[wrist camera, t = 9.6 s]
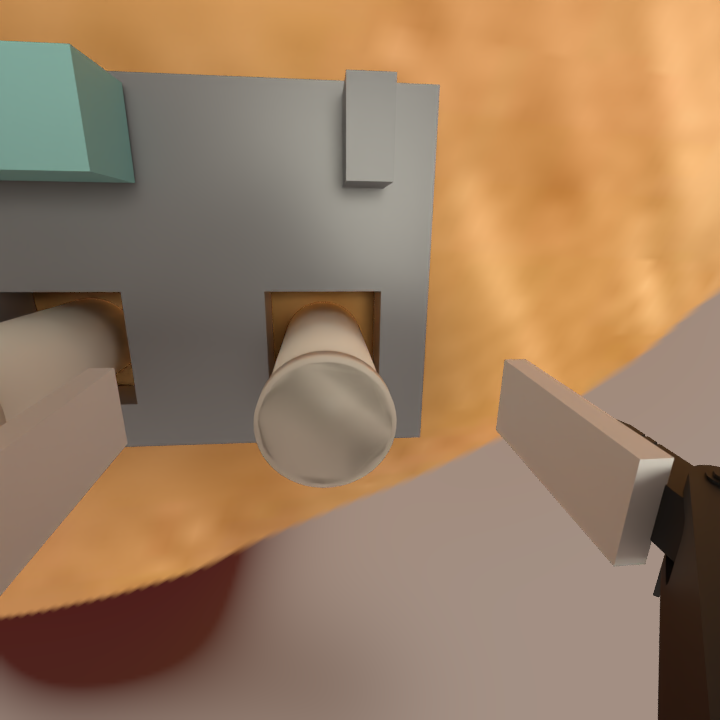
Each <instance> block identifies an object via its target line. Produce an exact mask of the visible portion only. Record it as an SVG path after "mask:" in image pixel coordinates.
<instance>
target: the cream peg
mask: <svg viewBox="0 0 720 720" xmlns="http://www.w3.org/2000/svg"><path fill="white" fill-rule="evenodd" d="M396 422H397V418H396V410H395V406H394V402H393V400H392V397H391V395H390V393H389V390H388V388H387V386H386V384H385V382H384V381H383V379H382V378H381V376H380V375H379V374H378V373H377V371H376V369H375V366H374V364H373V361H372V359H371V356H370V354H369V351H368V349H367V346H366V344H365V341H364V339H363V336H362V334H361V331H360V329H359V326H358V324H357V322H356V320H355V318H354V317H353V316H352V314H351V313H350V312H349V311H348V310H346V309H345V308H343V307H341V306H340V305H337V304H334V303H331V302H316V303H312V304H309V305H307V306H305V307H303V308H302V309H300V310H299V311H298V312H297V313H296V314H295V315H294V316H293V318H292V319H291V321H290V323H289V325H288V328H287V331H286V334H285V337H284V339H283V342H282V345H281V348H280V351H279V354H278V357H277V360H276V363H275V366H274V369H273V372H272V375H271V376H270V378H269V379H268V380H267V382H266V384H265V385H264V387H263V389H262V392H261V394H260V397H259V400H258V402H257V405H256V409H255V413H254V423H253V425H254V434H255V439H256V442H257V445H258V447H259V450H260V451H261V453H262V455H263V457H264V458H265V459H266V461H267V462H268V463H269V464H270V465H271V466H272V467H273V468H274V469H275V470H276V471H277V472H278V473H280V474H281V475H282V476H284V477H286V478H287V479H289V480H292V481H294V482H296V483H299V484H302V485H306V486H311V487H321V488H326V487H336V486H342V485H345V484H349V483H351V482H354V481H356V480H358V479H360V478H362V477H364V476H366V475H367V474H368V473H370V472H371V471H372V470H374V469H375V468H376V467H377V466H378V465H379V464H380V463H381V461H382V460H383V459H384V458H385V456H386V455H387V453H388V452H389V450H390V447H391V445H392V443H393V440H394V437H395V432H396Z"/></svg>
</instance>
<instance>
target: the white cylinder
mask: <svg viewBox="0 0 720 720" xmlns="http://www.w3.org/2000/svg"><path fill="white" fill-rule="evenodd" d="M130 363H131V358H130V351H129V344H128V338H127V331H126V325H125V318H124V312H123V310H122V309H121V308H119V307H118V306H116V305H115V304H113V303H111V302H108V301H106V300H102V299H97V298H85V299H80V300H76V301H73V302H69V303H66V304H62V305H59V306H55V307H52V308H48V309H45V310H41V311H38V312H34V313H31V314H28V315H24V316H21V317H17V318H14V319H10V320H7V321H3V322H0V426H2V425H4V424H5V423H7V422H8V421H10V420H11V419H13V418H14V417H16V416H17V415H19V414H20V413H22V412H23V411H25V410H26V409H28V408H29V407H31V406H32V405H34V404H35V403H37V402H39V401H40V400H42V399H43V398H45V397H46V396H48V395H49V394H51V393H52V392H54V391H55V390H57V389H58V388H60V387H61V386H63V385H64V384H66V383H67V382H69V381H70V380H72V379H74V378H75V377H77V376H78V375H80V374H81V373H83V372H84V371H86V370H87V369H89V368H114V370H115V374H116V373H118V372H119V371H121V370H122V369H123V368H125V367H126V366H127V365H129V364H130Z"/></svg>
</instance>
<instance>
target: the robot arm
mask: <svg viewBox="0 0 720 720" xmlns="http://www.w3.org/2000/svg"><path fill="white" fill-rule="evenodd" d="M496 430H497V432H498V433H499V434H500V435H501V436H502V437H503V439H504V440H505V441H506V442H507V443H508V444H509V446H511V448H512V449H513V450H514V451H515V452H516V454H517V455H518V456H519V457H520V458H521V459H522V460H523V462H524V463H525V464H526V465H527V466H528V468H529V469H530V470H531V471H532V472H533V473H534V474H535V476H536V477H537V478H538V479H539V480H540V481H541V483H542V484H543V485H544V486H545V487H546V488H547V490H548V491H549V492H550V493H551V494H552V495H553V496H554V498H555V499H556V500H557V501H558V502H559V503H560V505H561V506H562V507H563V508H564V509H565V510H566V511H567V513H568V514H569V515H570V516H571V517H572V518H573V520H574V521H575V522H576V523H577V524H578V525H579V526H580V528H581V529H582V530H583V531H584V532H585V534H586V535H587V536H588V537H589V538H590V539H591V540H592V542H593V543H594V544H595V545H596V546H597V547H598V549H599V550H600V551H601V552H602V553H603V554H604V556H605V557H606V558H607V559H608V560H609V561H610V562H611V563H612V565H613V566H626V565H639V564H645V563H646V559H647V556H648V552H649V549H650V545H651V541H652V542H653V543H654V544H655V545H656V546H657V547H659V548H660V549H661V550H662V551H663V552H664V553H665V555H664V559H663V562H662V566H661V569H660V573H659V576H658V580H657V583H656V586H655V590H654V593H653V595H654V596H656V597H659V596H660V634H659V636H660V637H659V686H658V720H720V467H717V466H711V465H697V466H693V465H691V464H690V463H688V462H686V461H685V460H683V459H682V458H680V457H679V456H677V455H676V454H674V453H673V452H671V451H670V450H668V449H666V448H665V447H663V446H662V445H660V444H657V442H656V441H654V440H652V439H651V438H650V437H645V434H643V433H642V432H640V431H639V430H637V429H636V428H634V427H633V426H631V425H629V424H626V423H624V422H622V421H619V420H617V419H615V418H613V417H612V416H610V415H609V414H607V413H606V412H604V411H603V410H601V409H600V408H598V407H597V406H595V405H594V404H592V403H591V402H589V401H588V400H586V399H585V398H583V397H582V396H580V395H579V394H577V393H576V392H574V391H573V390H571V389H570V388H568V387H566V386H565V385H563V384H562V383H560V382H559V381H557V380H556V379H554V378H553V377H551V376H550V375H548V374H547V373H545V372H544V371H542V370H541V369H539V368H538V367H536V366H535V365H533V364H532V363H530V362H529V361H527V360H526V359H517V360H505V361H504V369H503V377H502V386H501V394H500V402H499V410H498V418H497V426H496ZM127 444H128V443H127V437H126V432H125V426H124V420H123V415H122V409H121V404H120V398H119V392H118V387H117V381H116V375H115V370H114V368H89V369H87V370H86V371H84V372H83V373H81V374H80V375H78V376H77V377H75V378H74V379H72V380H70V381H69V382H67V383H66V384H64V385H63V386H61V387H60V388H58V389H57V390H55V391H54V392H52V393H51V394H49V395H48V396H46V397H45V398H43V399H42V400H40V401H39V402H37V403H35V404H34V405H32V406H31V407H29V408H28V409H26V410H25V411H23V412H22V413H20V414H19V415H17V416H16V417H14V418H13V419H11V420H10V421H8V422H7V423H5V424H4V425H2V426H0V596H1V594H2V593H3V592H4V591H5V590H6V588H7V587H8V586H9V585H10V584H11V582H12V581H13V580H14V579H15V578H16V576H17V575H18V574H19V573H20V572H21V570H22V569H23V568H24V567H25V566H26V564H27V563H28V562H29V561H30V560H31V559H32V557H33V556H34V555H35V554H36V553H37V551H38V550H39V549H40V548H41V547H42V545H43V544H44V543H45V542H46V541H47V539H48V538H49V537H50V536H51V535H52V533H53V532H54V531H55V530H56V529H57V527H58V526H59V525H60V524H61V523H62V521H63V520H64V519H65V518H66V517H67V515H68V514H69V513H70V512H71V511H72V510H73V508H74V507H75V506H76V505H77V504H78V502H79V501H80V500H81V499H82V498H83V496H84V495H85V494H86V493H87V492H88V490H89V489H90V488H91V487H92V486H93V484H94V483H95V482H96V481H97V480H98V478H99V477H100V476H101V475H102V474H103V472H104V471H105V470H106V469H107V468H108V466H109V465H110V464H111V463H112V462H113V461H114V459H115V458H116V457H117V456H118V455H119V453H120V452H121V451H122V450H123V449H124V447H125V446H126V445H127Z"/></svg>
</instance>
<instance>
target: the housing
mask: <svg viewBox="0 0 720 720" xmlns="http://www.w3.org/2000/svg"><path fill="white" fill-rule="evenodd" d="M107 72H108V73H109V74H111V75H112V76H113V77H115V78H116V79H118V80H119V81H120V82H122V88H123V96H124V103H125V111H126V118H127V126H128V133H129V141H130V148H131V156H132V163H133V171H134V179H135V183H112V182H61V181H9V180H0V322H3V321H7V320H10V319H14V318H17V317H21V316H24V315H28V314H31V313H34V312H36V307H35V302H34V298H33V293H32V292H121V299H122V305H123V312H124V318H125V325H126V331H127V338H128V344H129V351H130V358H131V364H132V371H133V377H134V384H135V385H129V386H117V387H118V392H119V398H120V404H121V409H122V415H123V420H124V426H125V432H126V437H127V443H128V444H127V445H126V446H125V447H135V446H166V445H196V444H227V443H257V442H256V439H255V434H254V425H253V423H254V413H255V409H256V405H257V402H258V400H259V397H260V394H261V392H262V389H263V387H264V385H265V384H266V382H267V380H268V379H269V378H270V376H271V375H272V372H273V369H274V366H275V359H274V339H273V319H272V299H271V292H308V291H374V319H373V364H374V366H375V369H376V371H377V373H378V374H379V375H380V376H381V378H382V379H383V381H384V382H385V384H386V386H387V388H388V390H389V393H390V395H391V397H392V400H393V402H394V406H395V410H396V418H397V422H396V432H395V437H394V438H411V437H420V428H421V410H422V392H423V374H424V356H425V339H426V321H427V303H428V285H429V268H430V250H431V232H432V214H433V197H434V179H435V161H436V143H437V126H438V108H439V90H440V85H433V84H409V83H397V72H387V71H364V70H346V74H345V80H344V81H336V80H312V79H288V78H264V77H239V76H215V75H191V74H167V73H143V72H118V71H107Z"/></svg>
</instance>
